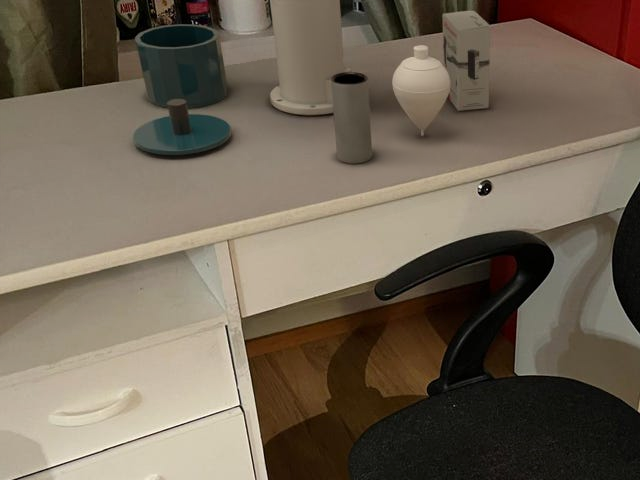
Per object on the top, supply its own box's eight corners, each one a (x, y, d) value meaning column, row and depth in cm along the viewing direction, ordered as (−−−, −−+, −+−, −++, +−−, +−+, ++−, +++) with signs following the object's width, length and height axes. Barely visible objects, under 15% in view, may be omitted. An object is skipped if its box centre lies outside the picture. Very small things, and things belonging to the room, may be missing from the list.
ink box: (441, 91, 132) (441, 11, 125) (472, 89, 133) (474, 9, 126) (457, 111, 125) (458, 28, 118) (489, 109, 127) (492, 26, 119)
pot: (242, 88, 131) (234, 30, 126) (196, 113, 122) (185, 53, 117) (180, 77, 134) (170, 20, 129) (131, 100, 126) (117, 41, 120)
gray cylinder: (376, 151, 113) (372, 73, 107) (366, 165, 110) (361, 85, 104) (343, 148, 114) (337, 70, 108) (332, 161, 111) (325, 82, 104)
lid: (250, 131, 118) (245, 94, 115) (193, 166, 108) (186, 126, 105) (175, 116, 121) (168, 79, 118) (114, 149, 112) (104, 110, 109)
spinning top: (427, 120, 122) (425, 34, 115) (461, 137, 118) (462, 48, 111) (383, 133, 118) (378, 44, 111) (417, 151, 114) (415, 60, 106)
